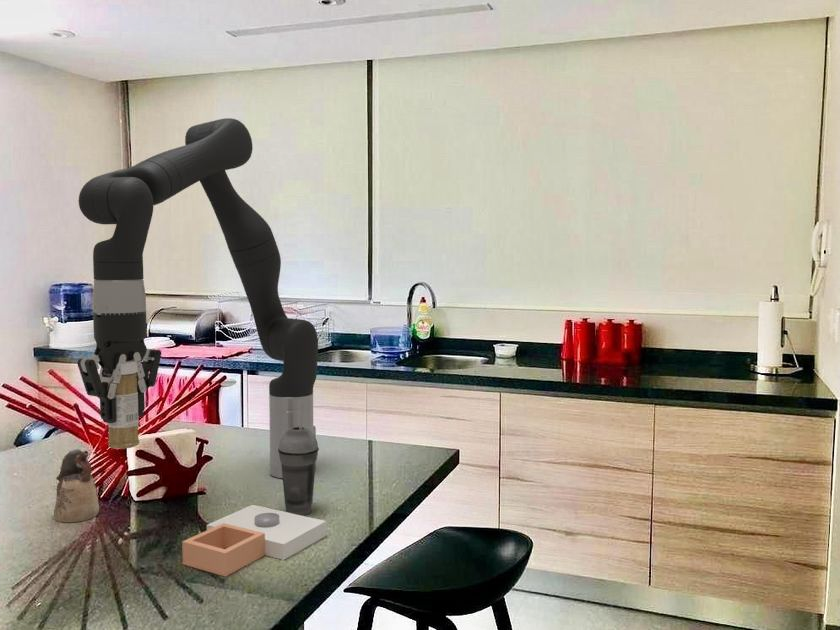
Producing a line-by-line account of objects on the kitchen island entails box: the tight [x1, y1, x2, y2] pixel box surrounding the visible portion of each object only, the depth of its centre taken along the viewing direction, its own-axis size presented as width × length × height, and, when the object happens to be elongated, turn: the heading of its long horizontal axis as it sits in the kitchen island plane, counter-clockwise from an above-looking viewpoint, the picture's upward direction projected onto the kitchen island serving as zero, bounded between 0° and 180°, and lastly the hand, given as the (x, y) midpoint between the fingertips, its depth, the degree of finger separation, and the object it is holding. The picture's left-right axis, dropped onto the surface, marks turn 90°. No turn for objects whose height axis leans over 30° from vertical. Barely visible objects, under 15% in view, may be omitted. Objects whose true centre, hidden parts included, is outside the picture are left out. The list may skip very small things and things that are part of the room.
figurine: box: [53, 448, 100, 523], centre depth 126 cm, size 7×7×12 cm
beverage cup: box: [278, 404, 320, 516], centre depth 129 cm, size 7×7×20 cm
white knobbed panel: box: [181, 504, 327, 577], centre depth 113 cm, size 20×16×4 cm
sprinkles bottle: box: [106, 360, 140, 450], centre depth 110 cm, size 5×5×14 cm
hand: (123, 418), depth 110 cm, fingers closed on sprinkles bottle, 4 cm apart
